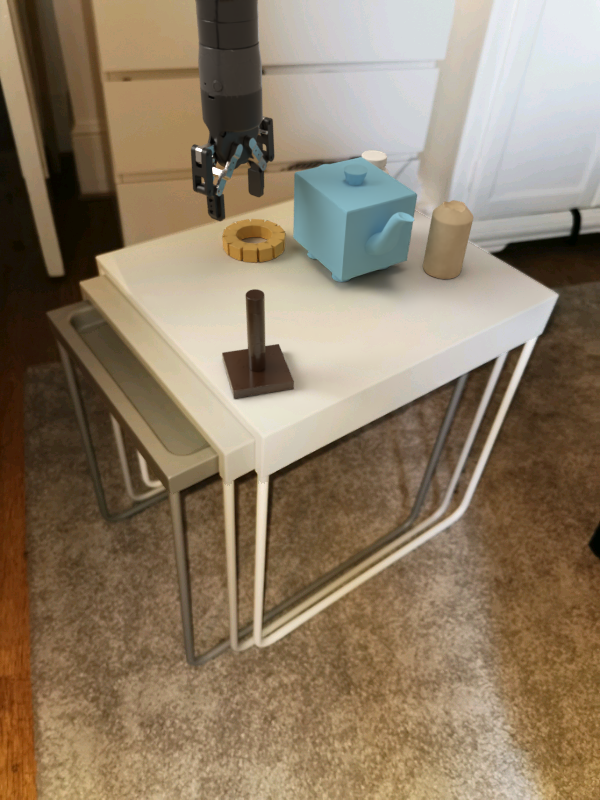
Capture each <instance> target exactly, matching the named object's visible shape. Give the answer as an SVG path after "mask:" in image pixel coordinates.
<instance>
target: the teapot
mask: <svg viewBox="0 0 600 800" xmlns="http://www.w3.org/2000/svg"><path fill="white" fill-rule="evenodd" d="M293 177H294V179H293V186H294V187H293V229H292V231H293V235H292V236H293V239H294V241H296V242H297V243H298V244H299V245H300V246H302V247H303V248H304V249H305V250H306V251H307V254H306V255H307V257H308V258H310V259H312V260H317V261H318V262H319V263H320V264H322V265H323V266H324V267H325V268H326V269H327V270H328V271H329V272H330V273H331V278H332V279H333V281H336V282H339V283H345V282H349V281H350V280H351V279H352V278H356V277H360V276H362V275H365V274H369V273H372V272H375V271H378V270H379V271H380V270H386V269H389V268H390V266H391V267H392V266H394V265H397V264H400V263H403V262H406V261H408V256H409V249H410V243H411V237H412V232H413V231H412V230H413V226H414V225H413V224H414V222H415V212H416V207H417V206H416V205H417V200H418V194H417V192H416V191H414V190H413V189H411V188H409V187H408V186H406V185H405V184H404V183H403V182H401V181H399V180H398V179H397V178H394V177H393V176H392V175H391V174H389V175H388V174H387V173H385V172H384V171H382V170H381V169H379V168H378V167H376V166H375V165H373V164H372V163H370V162H368V161H367V160H365V159H364V158H362V156H359V157H356V158H352V159H347V160H342V161H338V162H334V163H323V164H320V165H319V166H316V167H313V168H307V169H304V170H299V171H295V172H294V175H293Z"/></svg>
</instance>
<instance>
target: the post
mask: <svg viewBox="0 0 600 800" xmlns="http://www.w3.org/2000/svg"><path fill="white" fill-rule="evenodd" d="M265 298H266V297H265V293H264V291H263V290H260V289H258V288H257V289H255V288H253V289H250V290H248V291H246V292H245V310H246V311H245V313H246V315H245V317H246V318H245V319H246V337H247V339H246V341H247V348H243V349H238V350H236V349H235V350H230V351H224V352H221V359H222V363H223V367H224V370H225V374H226V377H227V380H228V383H229V387H230V390H231V393H232V394H231V395H232V397H233V400H235V399H243V398H247V397H252V396H259V395H265V394H270V393H277V392H282V391H288V390H293V389H294V388H295V380H294V378H293V376H292V373H291V371H290V368H289V366H288V363H287V360H286V358H285V356H284V353H283V351H282V348H281V346H280V344H279V343H276V344H269V345H266V305H265V304H266V303H265V302H266V301H265V300H266V299H265Z"/></svg>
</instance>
